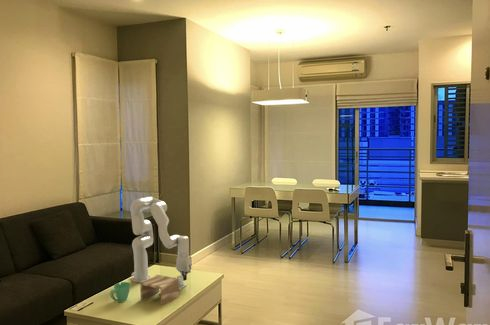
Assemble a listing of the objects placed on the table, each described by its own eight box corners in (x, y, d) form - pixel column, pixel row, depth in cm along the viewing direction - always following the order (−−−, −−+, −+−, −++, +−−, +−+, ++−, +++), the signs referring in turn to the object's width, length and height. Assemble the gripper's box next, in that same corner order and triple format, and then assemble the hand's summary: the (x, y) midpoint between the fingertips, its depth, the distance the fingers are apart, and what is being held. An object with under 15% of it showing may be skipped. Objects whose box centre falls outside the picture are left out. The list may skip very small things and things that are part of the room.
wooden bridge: (140, 299, 257) (140, 282, 257) (157, 291, 271) (157, 274, 271) (162, 305, 249) (162, 286, 248) (179, 296, 263) (178, 278, 262)
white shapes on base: (158, 294, 266) (158, 283, 265) (178, 285, 283) (178, 274, 282) (166, 296, 262) (166, 285, 262) (186, 286, 279) (186, 276, 279)
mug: (121, 296, 264) (121, 281, 263) (133, 298, 260) (133, 283, 259) (105, 304, 251) (104, 289, 250) (117, 307, 247) (117, 291, 246)
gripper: (171, 254, 281) (172, 280, 282) (189, 256, 274) (189, 283, 275) (178, 251, 288) (179, 276, 289) (195, 254, 280) (196, 279, 282)
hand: (184, 280), depth 282 cm, fingers closed
